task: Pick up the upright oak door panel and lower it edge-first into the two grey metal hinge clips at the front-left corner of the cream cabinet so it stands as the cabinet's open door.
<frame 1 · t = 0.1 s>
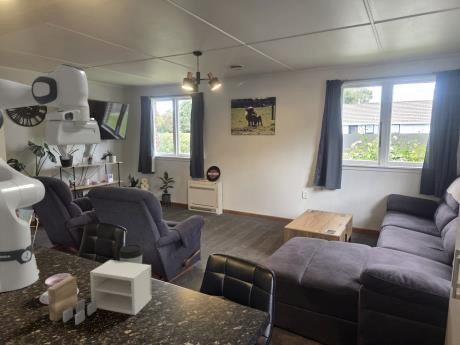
hand: (76, 158, 100), 48 cm above the kitchen counter, fingers open, 8 cm apart
coffee cup: (132, 287, 110), on the kitchen counter
teacup: (59, 296, 105), on the kitchen counter
cabinet: (122, 302, 100), on the kitchen counter
door: (64, 312, 94), on the kitchen counter
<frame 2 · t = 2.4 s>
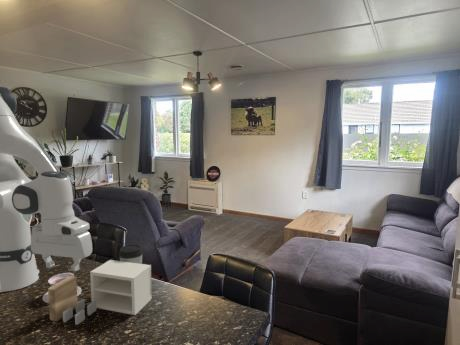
hand: (62, 268, 92), 15 cm above the kitchen counter, fingers open, 8 cm apart
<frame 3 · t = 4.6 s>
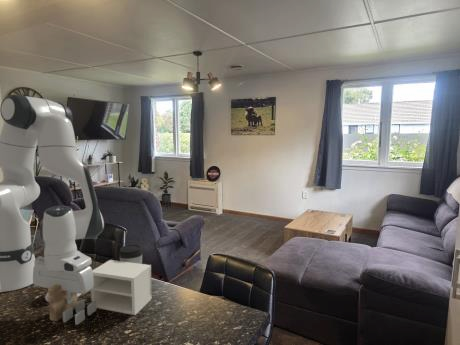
hand: (63, 301, 94), 4 cm above the kitchen counter, fingers closed on door, 2 cm apart
door: (64, 312, 94), on the kitchen counter, touching gripper
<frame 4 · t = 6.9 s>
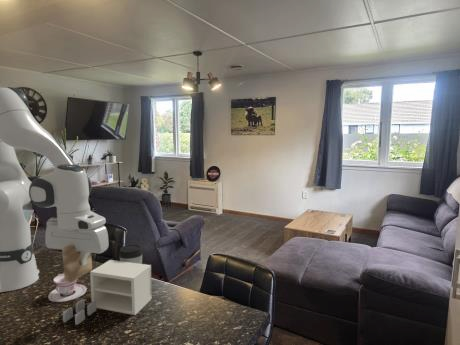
hand: (78, 263, 91), 17 cm above the kitchen counter, fingers closed on door, 2 cm apart
door: (79, 275, 91), point 13 cm above the kitchen counter, touching gripper
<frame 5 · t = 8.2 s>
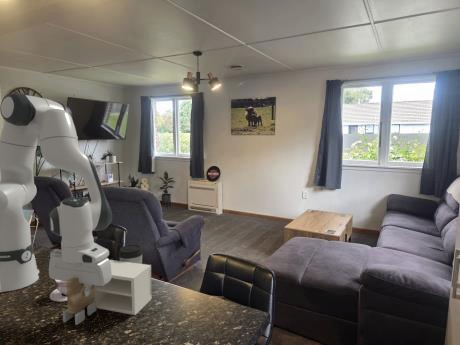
hand: (81, 294, 92), 7 cm above the kitchen counter, fingers closed on door, 2 cm apart
door: (82, 305, 93), point 3 cm above the kitchen counter, touching gripper
when the fingers open (5 cm above the kitchen counter, at t = 9.4 s): door drops 1 cm, on the kitchen counter.
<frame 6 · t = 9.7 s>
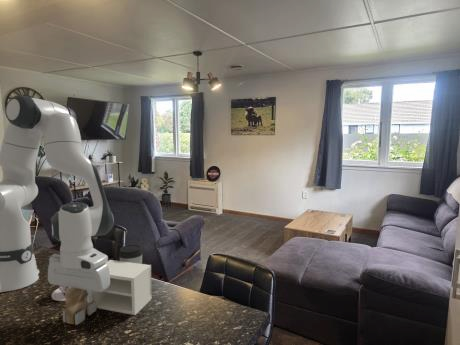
hand: (79, 300, 92), 5 cm above the kitchen counter, fingers open, 5 cm apart
door: (80, 315, 93), on the kitchen counter
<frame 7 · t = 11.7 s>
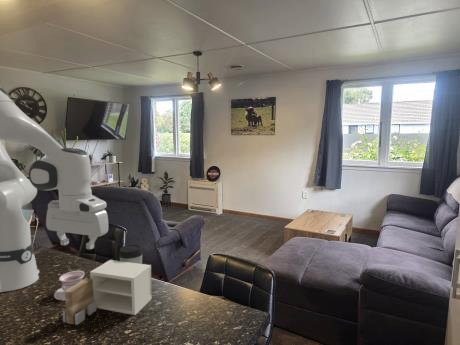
hand: (77, 246, 92), 22 cm above the kitchen counter, fingers open, 8 cm apart
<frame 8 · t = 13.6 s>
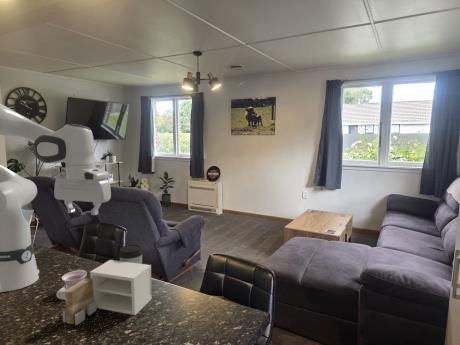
hand: (83, 213, 102), 29 cm above the kitchen counter, fingers open, 8 cm apart
at the end: door 0.2 cm from the target spot on the cabinet, point 0.0 cm above the cabinet's base; door tilted 0°; the gripper is holding nothing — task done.
